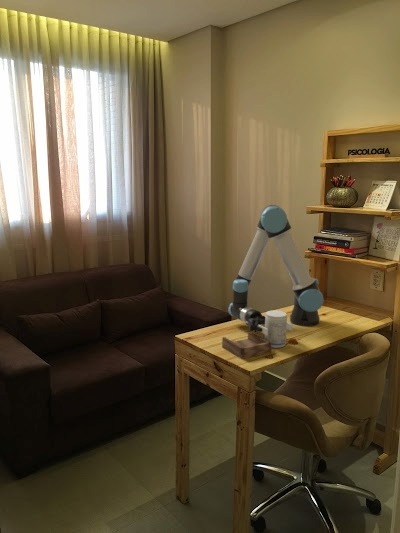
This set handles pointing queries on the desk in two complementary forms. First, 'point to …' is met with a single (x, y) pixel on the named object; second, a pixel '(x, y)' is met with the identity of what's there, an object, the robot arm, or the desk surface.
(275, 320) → the supplement tub
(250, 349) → the tray
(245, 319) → the robot arm
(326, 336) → the desk surface
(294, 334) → the desk surface
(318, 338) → the desk surface
